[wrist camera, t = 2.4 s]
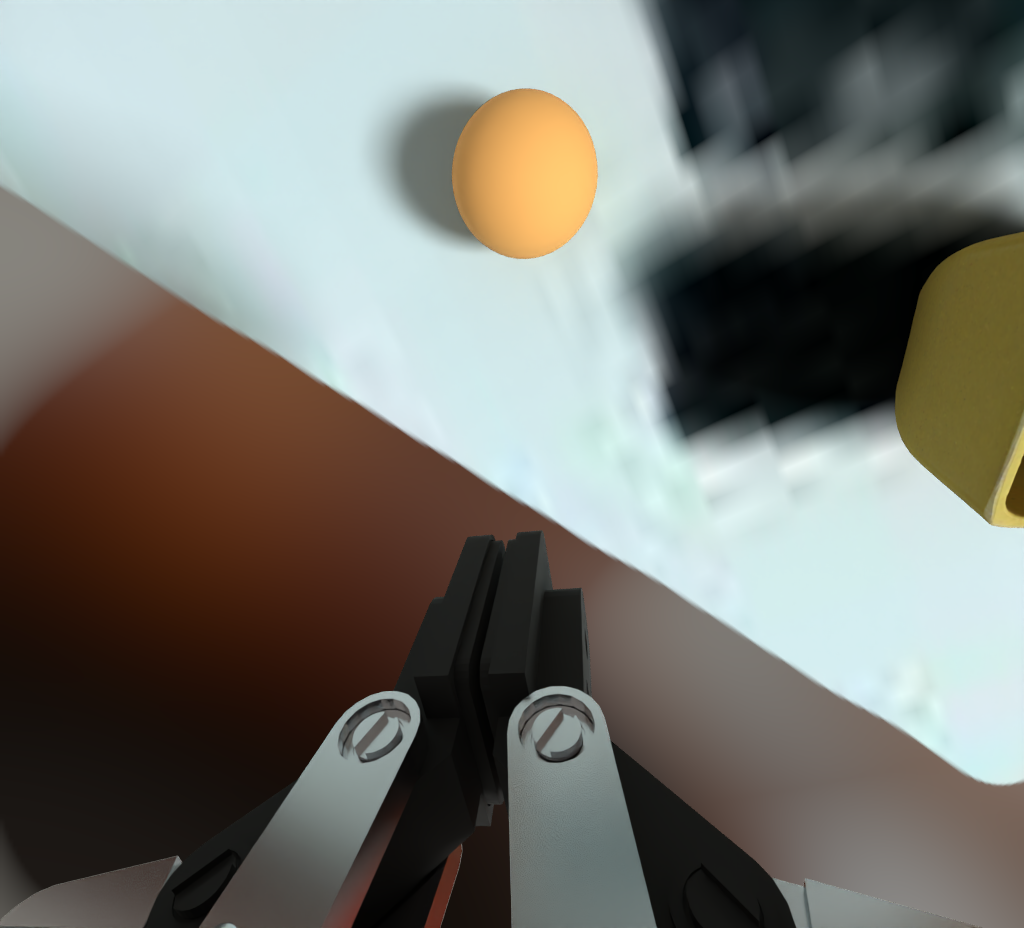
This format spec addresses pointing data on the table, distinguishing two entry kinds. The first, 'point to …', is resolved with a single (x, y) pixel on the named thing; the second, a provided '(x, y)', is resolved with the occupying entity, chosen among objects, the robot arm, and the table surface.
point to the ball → (524, 173)
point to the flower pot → (970, 378)
